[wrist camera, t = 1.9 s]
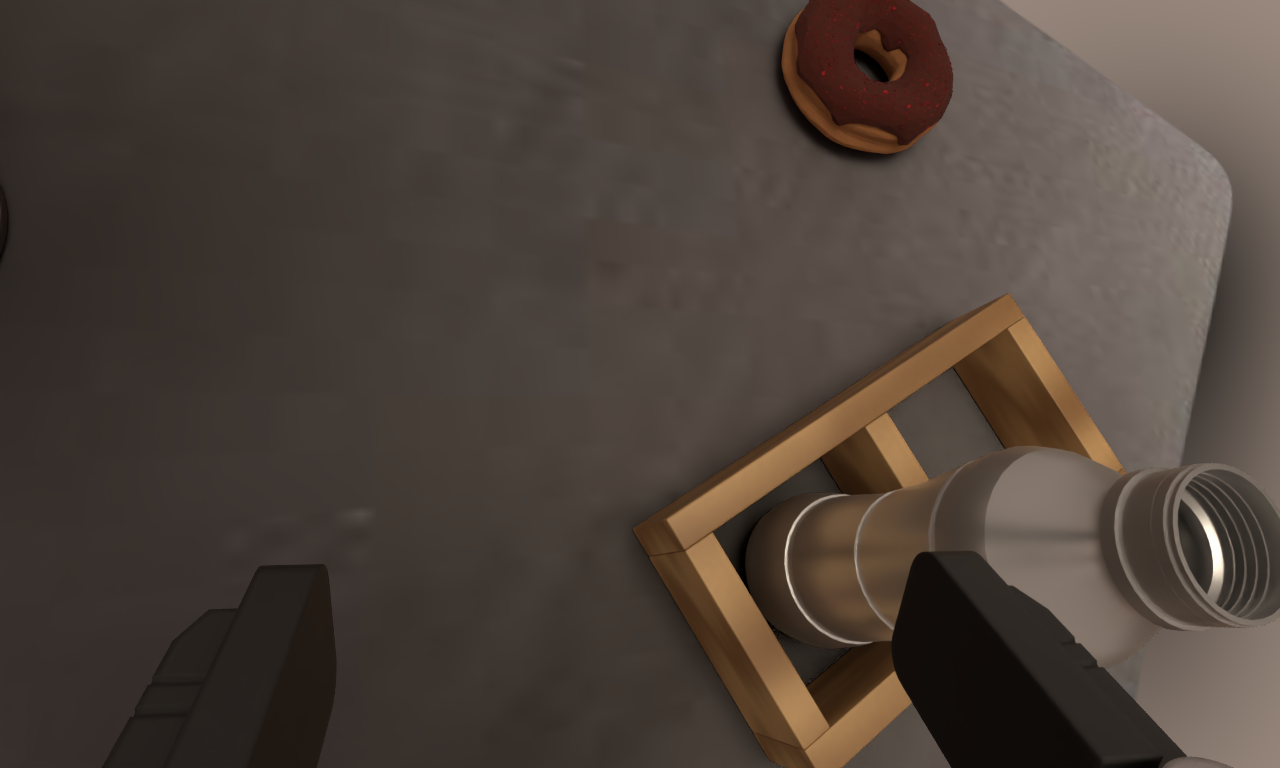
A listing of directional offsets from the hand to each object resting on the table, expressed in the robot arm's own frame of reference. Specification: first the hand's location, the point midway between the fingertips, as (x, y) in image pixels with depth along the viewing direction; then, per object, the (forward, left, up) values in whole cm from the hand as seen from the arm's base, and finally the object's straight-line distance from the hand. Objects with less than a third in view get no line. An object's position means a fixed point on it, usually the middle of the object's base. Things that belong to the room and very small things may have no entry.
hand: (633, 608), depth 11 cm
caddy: (+7, +18, -22) cm, 29 cm away
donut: (-13, +32, -22) cm, 41 cm away
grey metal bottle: (+7, +13, -22) cm, 27 cm away
